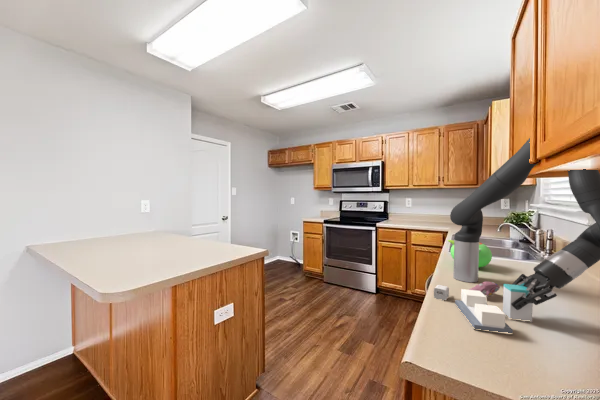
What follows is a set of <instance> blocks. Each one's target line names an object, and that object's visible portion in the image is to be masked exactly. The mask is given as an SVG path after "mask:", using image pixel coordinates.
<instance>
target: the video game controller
mask: <svg viewBox="0 0 600 400" xmlns="http://www.w3.org/2000/svg"><path fill="white" fill-rule="evenodd" d="M500 289H501V287H500V286H499V285H498V284H497V283H495V282H494V281H483V282H481V283H478V284H476V285H475V286H473V287H471V288H469V289H468V290H476V291H481V292H482V293H483V294H484V295H485V296H486V297H491V296H492V295H493V294H495V293H496V292H498V291H499V290H500Z"/></svg>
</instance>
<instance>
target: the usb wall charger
mask: <svg viewBox="0 0 600 400" xmlns="http://www.w3.org/2000/svg"><path fill="white" fill-rule="evenodd" d="M449 297H450V288H449V286H447V285H441V284H437V285H436V286H435V287H434V288H433V298H434V299H435V298H436V299H435V300H439V299H442V300H441V301H443V300H446V301H447V299H448V298H449Z"/></svg>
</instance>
